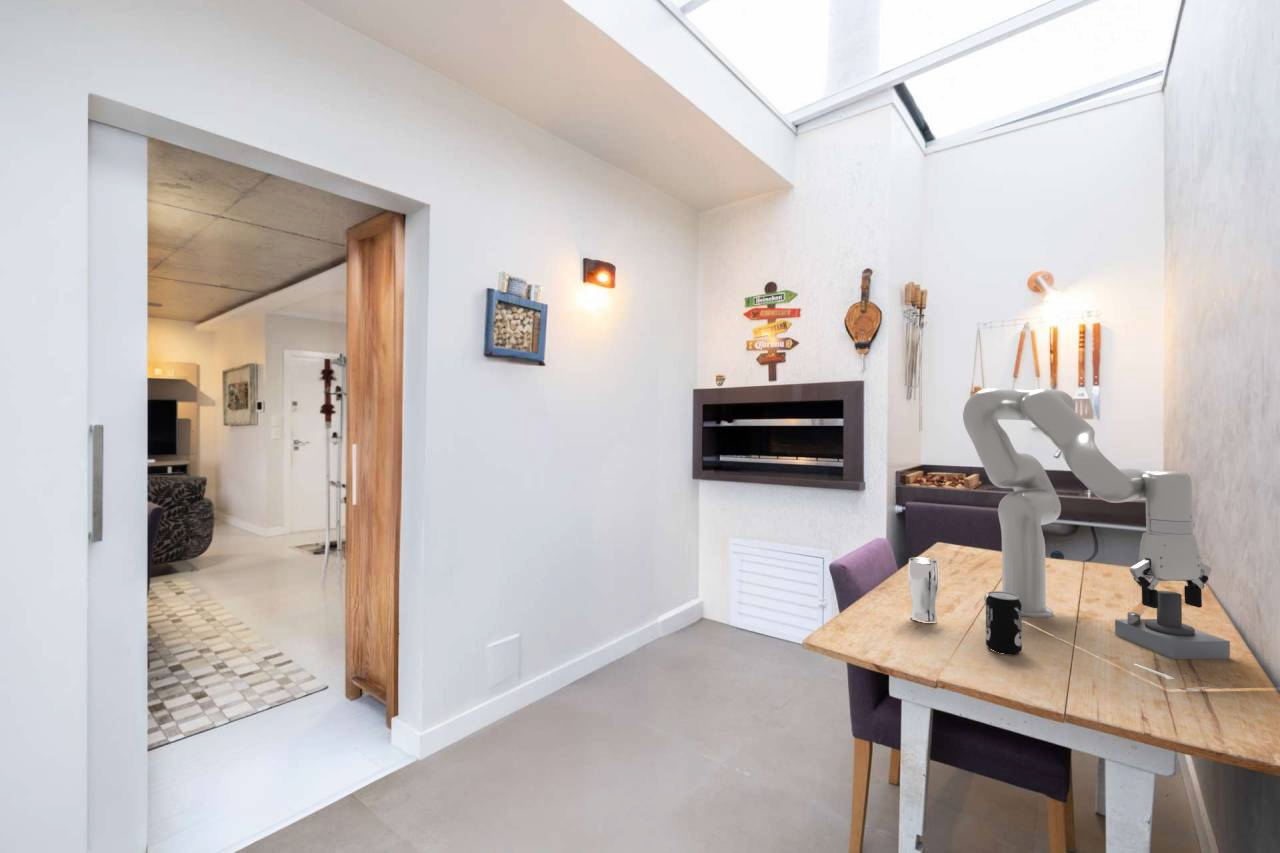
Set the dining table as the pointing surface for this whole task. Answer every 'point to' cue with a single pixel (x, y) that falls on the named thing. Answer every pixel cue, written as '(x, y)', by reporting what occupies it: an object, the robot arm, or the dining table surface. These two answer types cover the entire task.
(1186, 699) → the dining table surface
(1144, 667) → the fork
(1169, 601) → the plug
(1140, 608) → the orange stick
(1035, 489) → the robot arm
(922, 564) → the beer glass
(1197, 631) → the socket block
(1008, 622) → the beverage can
